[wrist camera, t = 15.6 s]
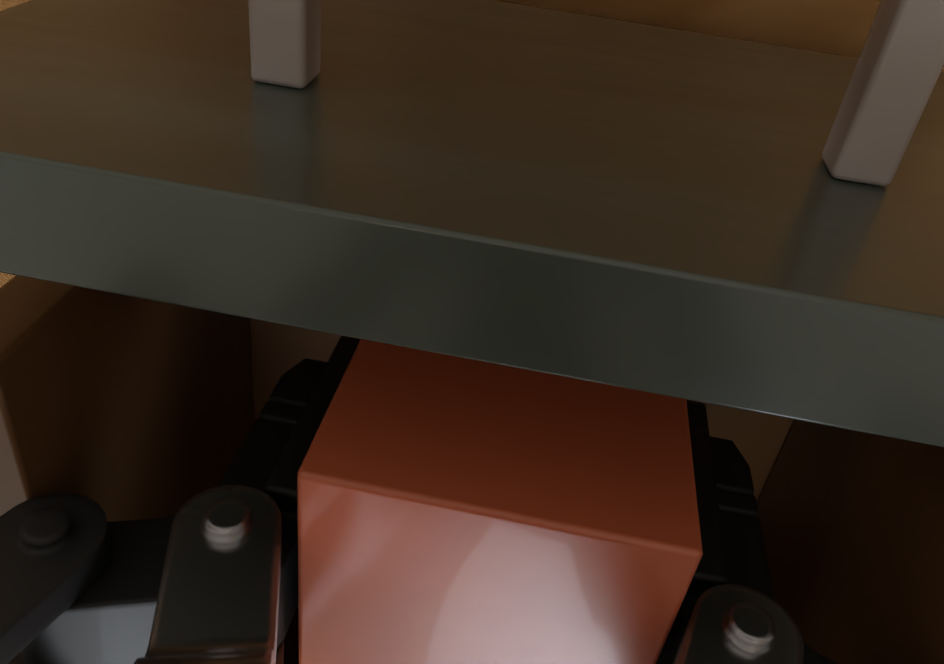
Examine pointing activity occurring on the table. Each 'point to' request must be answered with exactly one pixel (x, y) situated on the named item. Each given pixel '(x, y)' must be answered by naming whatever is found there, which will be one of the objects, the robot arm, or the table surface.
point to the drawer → (488, 250)
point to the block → (492, 517)
